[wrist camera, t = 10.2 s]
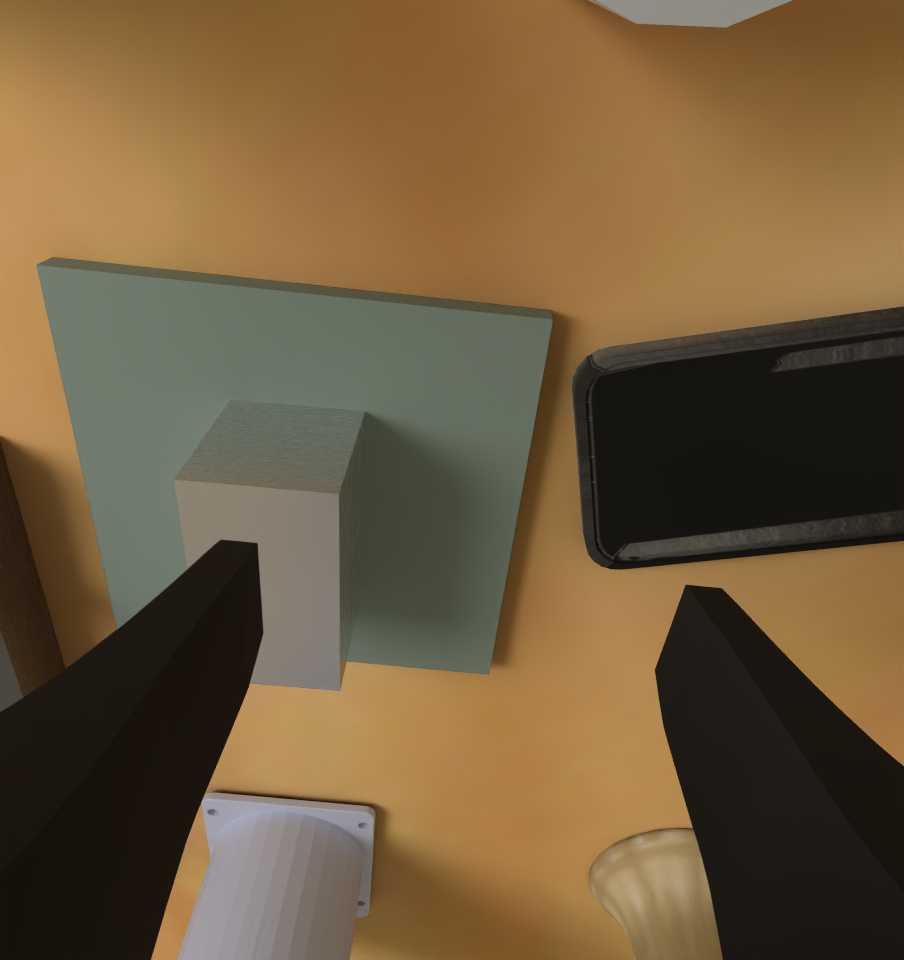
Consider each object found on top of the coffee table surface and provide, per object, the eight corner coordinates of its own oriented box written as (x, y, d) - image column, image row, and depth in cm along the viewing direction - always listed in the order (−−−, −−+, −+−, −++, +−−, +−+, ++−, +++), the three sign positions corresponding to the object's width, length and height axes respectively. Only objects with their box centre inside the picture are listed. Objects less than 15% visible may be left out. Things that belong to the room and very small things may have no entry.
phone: (1064, 524, 22) (588, 573, 24) (1039, 504, 23) (583, 553, 25) (1155, 279, 18) (572, 359, 20) (1121, 266, 19) (567, 344, 20)
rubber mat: (488, 658, 27) (489, 674, 26) (128, 624, 27) (119, 640, 26) (550, 309, 20) (552, 319, 19) (52, 257, 19) (36, 264, 19)
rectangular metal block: (362, 589, 24) (340, 690, 20) (248, 579, 24) (204, 679, 20) (365, 411, 21) (338, 494, 17) (230, 399, 21) (173, 480, 17)
